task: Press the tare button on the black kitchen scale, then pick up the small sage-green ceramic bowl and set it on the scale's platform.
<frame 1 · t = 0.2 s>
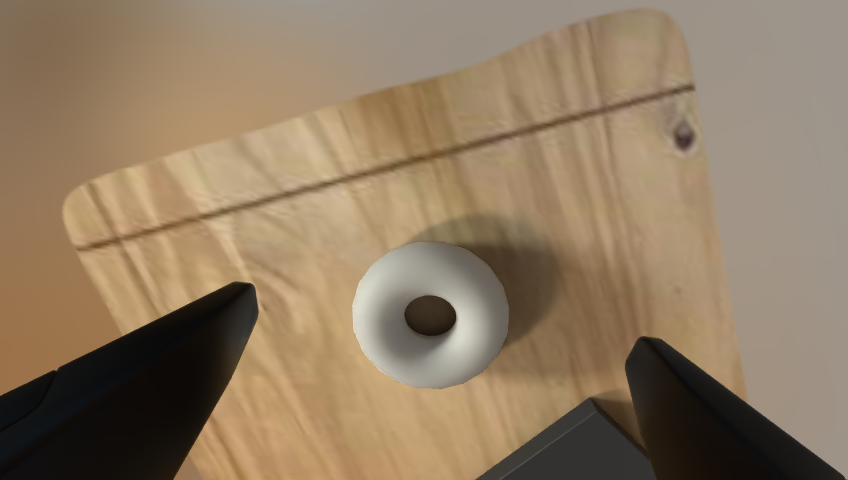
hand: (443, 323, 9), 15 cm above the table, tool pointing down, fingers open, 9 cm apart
donut: (431, 303, 26), on the table
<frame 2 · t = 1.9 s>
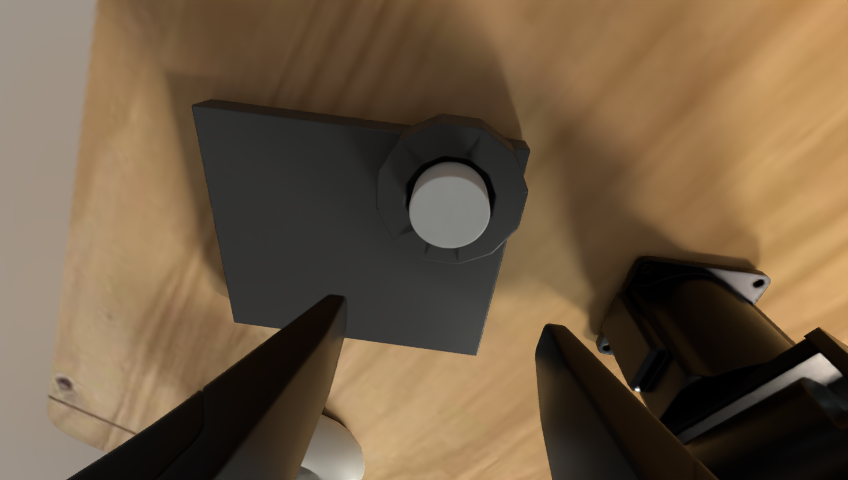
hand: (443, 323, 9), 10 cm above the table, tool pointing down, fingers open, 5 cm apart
tare button: (449, 205, 14), point 3 cm above the table, slide at 0.1 cm
donut: (306, 437, 29), on the table
scale: (363, 236, 19), on the table
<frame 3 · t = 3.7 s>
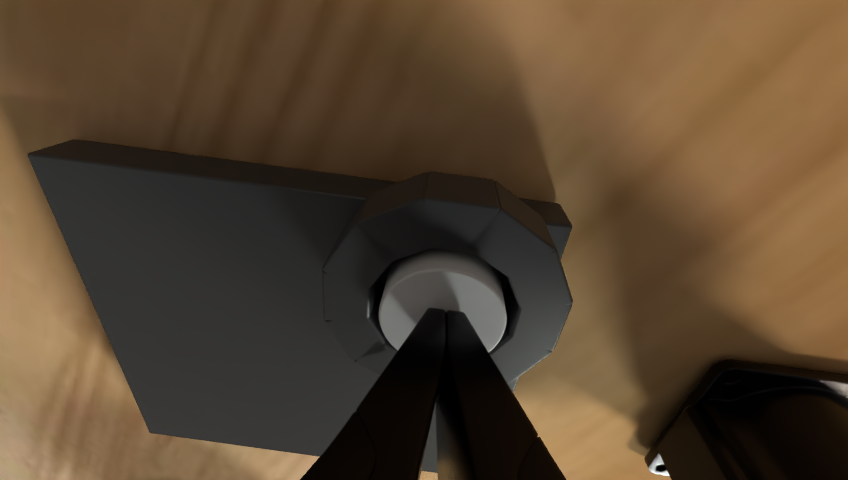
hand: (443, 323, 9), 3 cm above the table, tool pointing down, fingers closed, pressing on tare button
tare button: (442, 301, 9), point 3 cm above the table, slide at -0.7 cm, touching gripper
scale: (321, 326, 14), on the table
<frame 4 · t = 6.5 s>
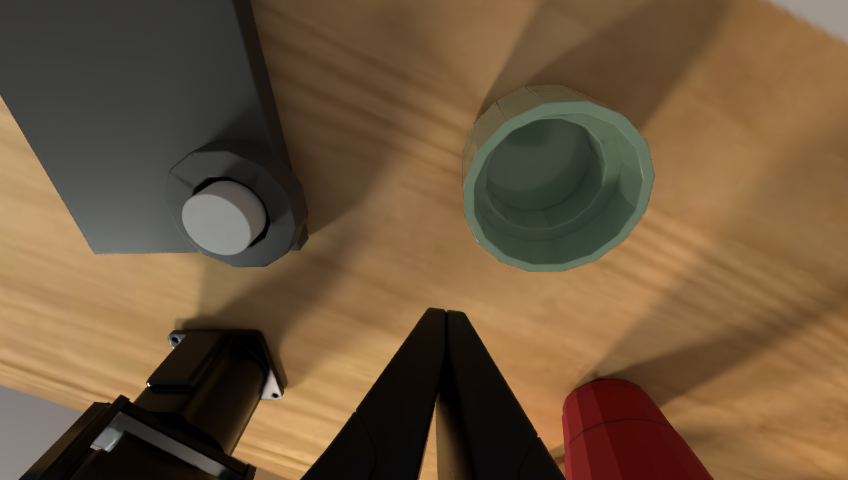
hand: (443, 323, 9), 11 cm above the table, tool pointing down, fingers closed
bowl: (533, 159, 18), on the table
tare button: (226, 218, 17), point 3 cm above the table, slide at 0.1 cm
plastic cup: (599, 403, 26), on the table
scale: (158, 114, 18), on the table
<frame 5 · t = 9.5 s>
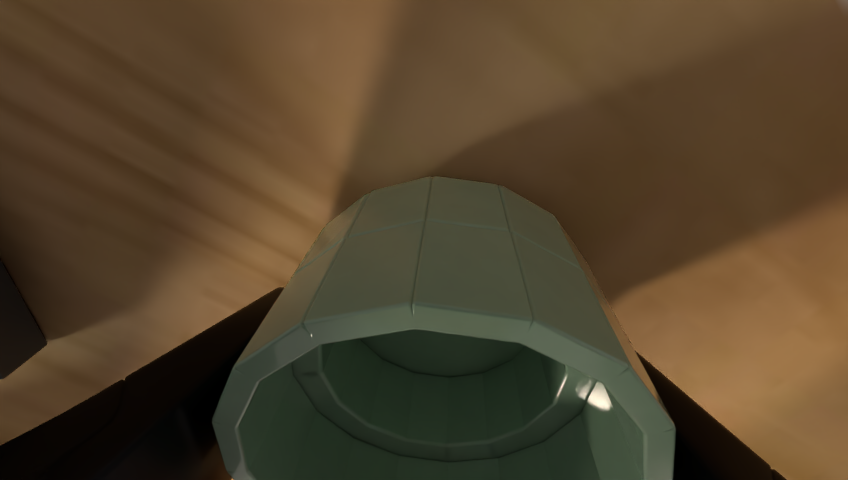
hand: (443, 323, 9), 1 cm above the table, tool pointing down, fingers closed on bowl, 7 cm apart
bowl: (443, 295, 10), on the table, touching gripper
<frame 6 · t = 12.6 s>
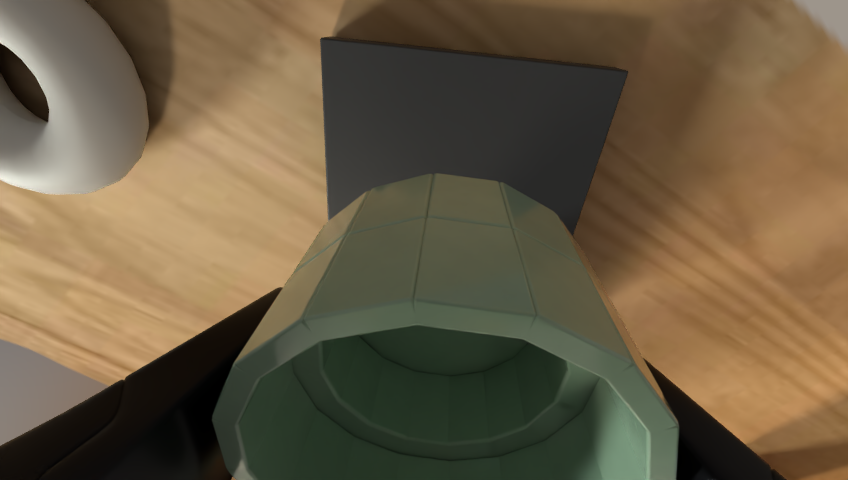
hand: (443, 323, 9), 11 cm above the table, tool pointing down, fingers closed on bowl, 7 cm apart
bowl: (444, 293, 10), point 10 cm above the table, touching gripper
donut: (61, 78, 18), on the table
scale: (450, 203, 19), on the table
when the fingers open (2 cm above the table, at t = 15.5 s): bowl stays where it is, resting on scale.
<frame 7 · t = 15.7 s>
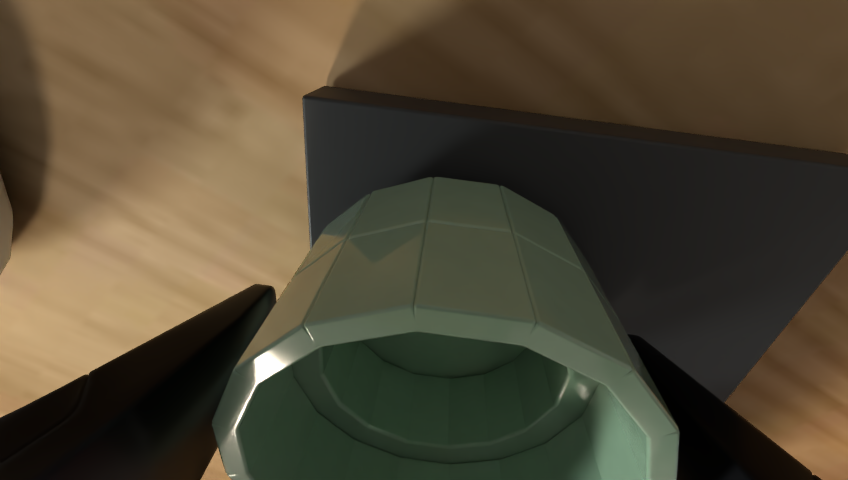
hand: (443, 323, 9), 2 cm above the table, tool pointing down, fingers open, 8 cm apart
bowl: (444, 296, 10), point 1 cm above the table, touching scale
scale: (512, 340, 12), on the table
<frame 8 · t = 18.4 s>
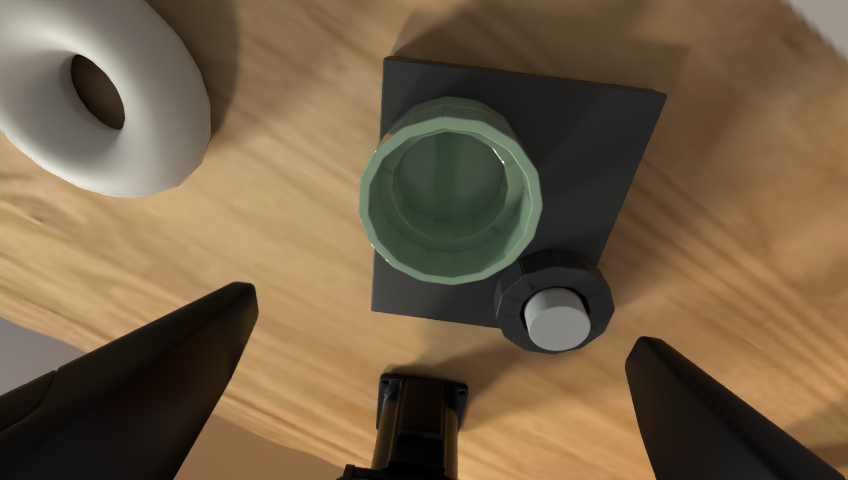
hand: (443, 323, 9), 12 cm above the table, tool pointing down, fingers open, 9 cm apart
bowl: (450, 170, 18), point 1 cm above the table, touching scale
tare button: (556, 319, 19), point 3 cm above the table, slide at 0.1 cm
donut: (128, 88, 19), on the table
scale: (489, 211, 20), on the table
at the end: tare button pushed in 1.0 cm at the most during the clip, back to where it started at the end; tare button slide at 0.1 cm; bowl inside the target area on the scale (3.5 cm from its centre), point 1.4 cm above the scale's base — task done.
